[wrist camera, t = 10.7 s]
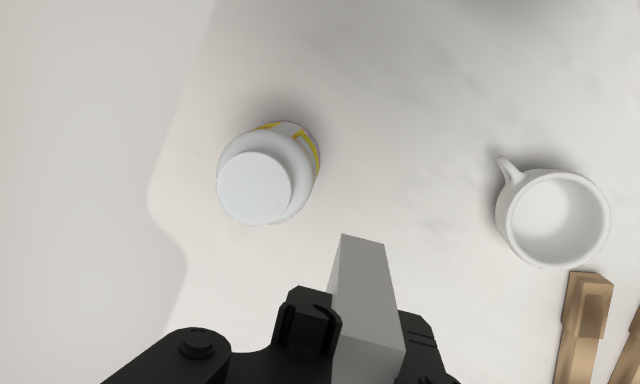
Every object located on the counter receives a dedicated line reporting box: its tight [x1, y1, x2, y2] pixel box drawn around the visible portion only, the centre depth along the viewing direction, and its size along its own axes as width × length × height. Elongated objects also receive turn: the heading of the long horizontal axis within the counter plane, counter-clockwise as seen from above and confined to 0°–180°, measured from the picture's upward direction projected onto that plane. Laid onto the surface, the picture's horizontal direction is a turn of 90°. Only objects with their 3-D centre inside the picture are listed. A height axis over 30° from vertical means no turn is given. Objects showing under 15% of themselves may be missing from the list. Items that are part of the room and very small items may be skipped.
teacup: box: [495, 156, 611, 271], centre depth 36 cm, size 10×8×5 cm
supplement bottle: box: [216, 121, 320, 226], centre depth 33 cm, size 7×7×13 cm
